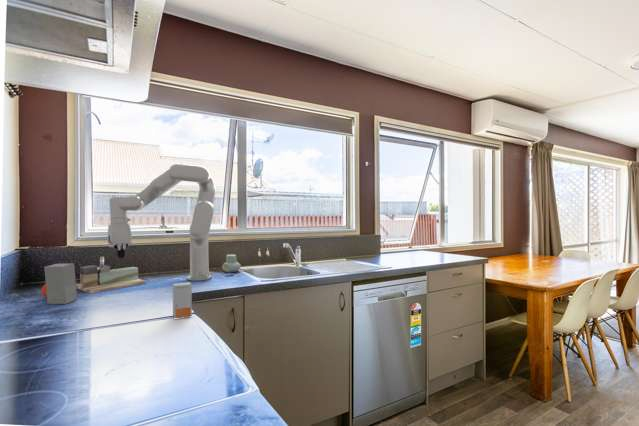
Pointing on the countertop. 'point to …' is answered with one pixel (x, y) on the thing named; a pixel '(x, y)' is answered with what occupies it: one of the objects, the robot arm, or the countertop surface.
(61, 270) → the skincare box
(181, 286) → the skincare box
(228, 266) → the air freshener
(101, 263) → the bolt
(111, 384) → the countertop surface
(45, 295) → the clementine
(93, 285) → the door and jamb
